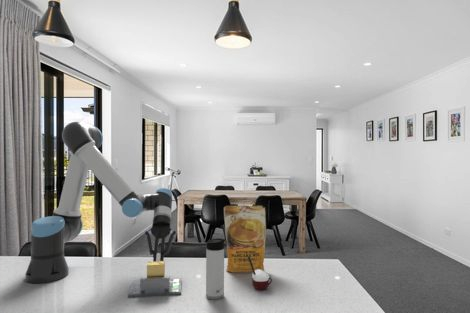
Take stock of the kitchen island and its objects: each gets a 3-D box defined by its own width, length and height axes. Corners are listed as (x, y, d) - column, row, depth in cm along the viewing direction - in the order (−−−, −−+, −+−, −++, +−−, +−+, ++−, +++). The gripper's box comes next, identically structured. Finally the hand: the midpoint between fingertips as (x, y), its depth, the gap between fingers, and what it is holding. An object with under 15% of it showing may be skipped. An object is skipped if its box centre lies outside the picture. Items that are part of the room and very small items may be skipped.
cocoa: (271, 286, 121) (272, 254, 122) (272, 292, 115) (273, 259, 116) (246, 284, 122) (248, 252, 123) (245, 290, 116) (247, 257, 117)
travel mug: (222, 300, 108) (222, 241, 108) (203, 299, 109) (204, 240, 109) (226, 293, 114) (226, 237, 114) (208, 291, 115) (209, 236, 115)
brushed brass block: (146, 290, 113) (146, 265, 113) (148, 286, 117) (148, 261, 117) (176, 289, 114) (177, 263, 115) (177, 284, 118) (177, 260, 119)
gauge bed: (128, 297, 110) (128, 279, 110) (134, 283, 123) (134, 267, 123) (180, 294, 113) (181, 277, 113) (181, 280, 125) (181, 265, 126)
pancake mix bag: (222, 268, 141) (223, 204, 141) (265, 267, 143) (265, 204, 143) (223, 273, 134) (223, 206, 135) (268, 272, 136) (268, 206, 136)
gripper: (177, 223, 142) (175, 274, 126) (147, 224, 141) (140, 275, 124) (177, 213, 137) (174, 265, 120) (145, 213, 135) (139, 266, 119)
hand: (157, 270), depth 122 cm, fingers closed
